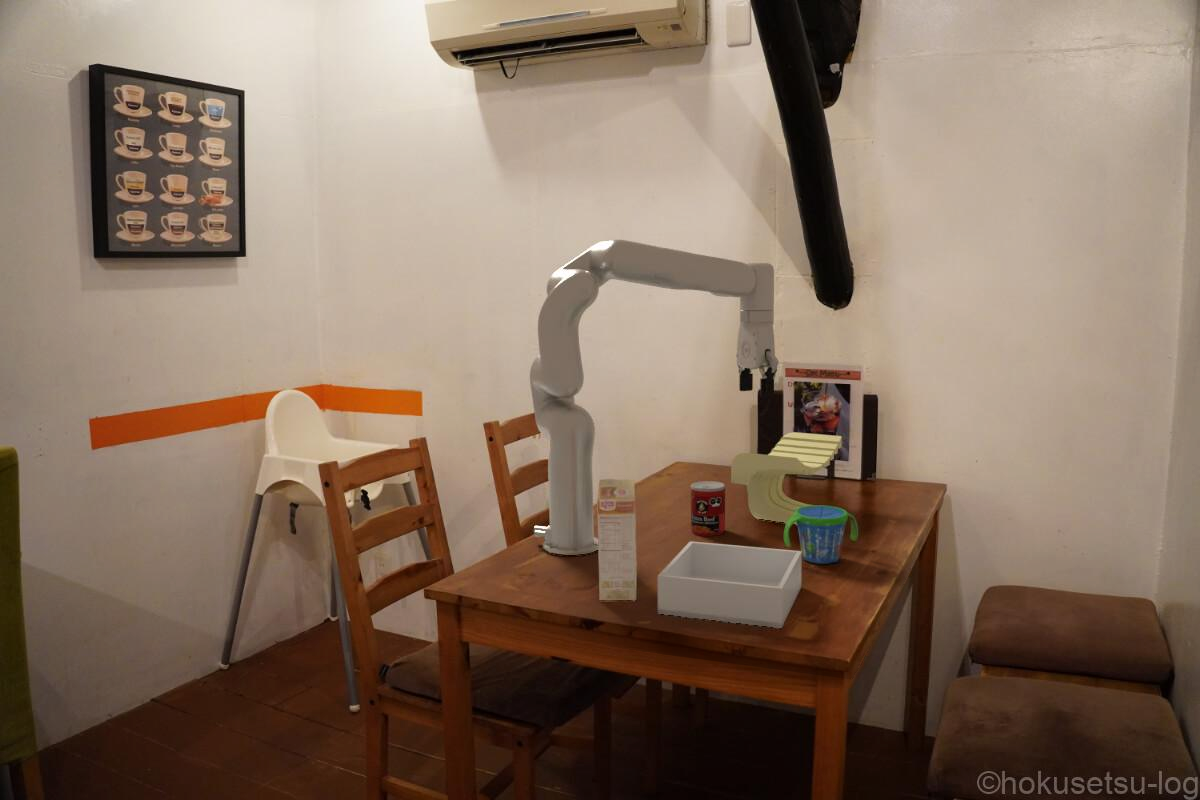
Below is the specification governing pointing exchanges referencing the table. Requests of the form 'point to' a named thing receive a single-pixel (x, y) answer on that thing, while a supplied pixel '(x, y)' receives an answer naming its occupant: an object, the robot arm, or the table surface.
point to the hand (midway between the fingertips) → (756, 393)
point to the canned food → (707, 508)
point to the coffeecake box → (617, 540)
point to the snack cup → (821, 532)
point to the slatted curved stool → (781, 472)
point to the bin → (731, 584)
